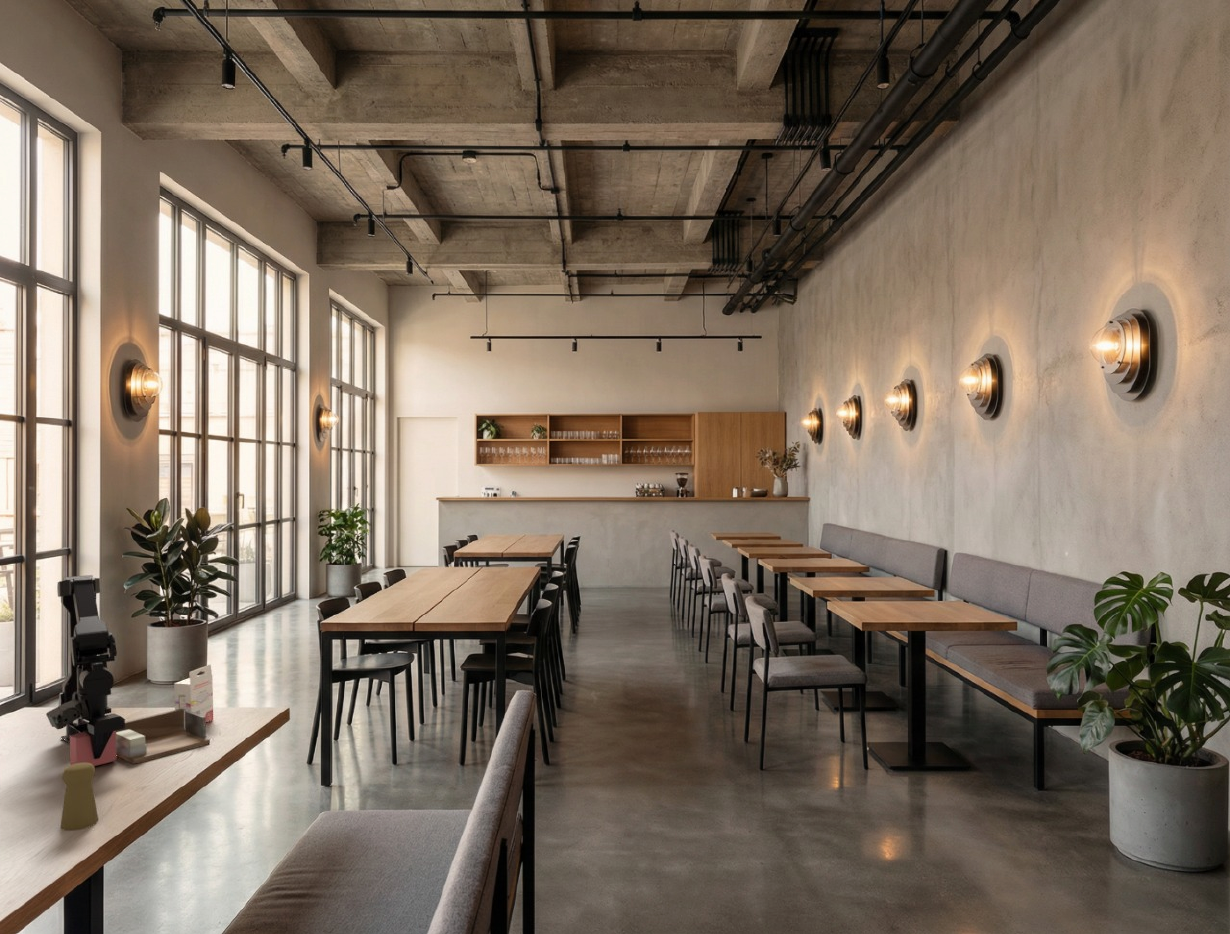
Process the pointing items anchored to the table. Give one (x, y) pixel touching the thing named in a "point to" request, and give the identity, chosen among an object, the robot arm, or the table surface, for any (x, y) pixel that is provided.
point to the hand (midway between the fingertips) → (93, 756)
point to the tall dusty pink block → (90, 750)
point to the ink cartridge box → (196, 693)
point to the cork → (78, 797)
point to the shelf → (160, 735)
